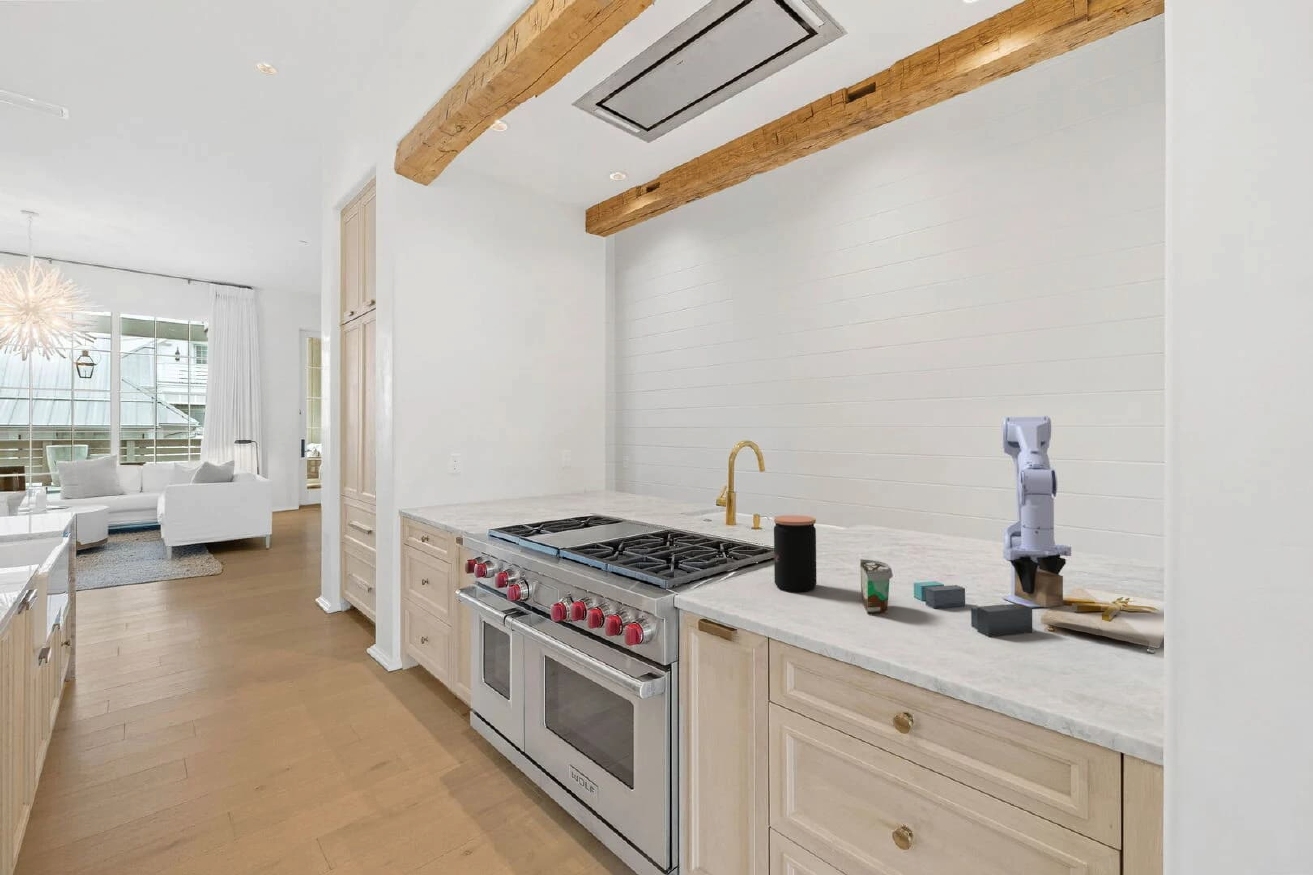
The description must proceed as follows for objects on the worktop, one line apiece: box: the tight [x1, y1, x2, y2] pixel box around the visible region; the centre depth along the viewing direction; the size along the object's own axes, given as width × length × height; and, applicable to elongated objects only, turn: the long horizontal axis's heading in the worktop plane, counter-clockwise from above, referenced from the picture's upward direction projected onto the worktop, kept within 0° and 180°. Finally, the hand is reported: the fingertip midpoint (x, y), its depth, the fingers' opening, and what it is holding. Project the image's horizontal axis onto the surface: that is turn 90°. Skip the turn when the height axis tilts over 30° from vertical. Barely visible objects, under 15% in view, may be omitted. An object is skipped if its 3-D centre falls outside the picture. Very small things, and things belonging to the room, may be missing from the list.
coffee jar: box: [773, 514, 817, 593], centre depth 153 cm, size 11×11×18 cm
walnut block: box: [1015, 568, 1064, 608], centre depth 122 cm, size 4×8×6 cm, turn 11°
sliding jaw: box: [913, 580, 966, 609], centre depth 139 cm, size 8×9×4 cm
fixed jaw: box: [970, 603, 1033, 638], centre depth 119 cm, size 10×6×5 cm, turn 100°
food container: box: [859, 559, 893, 615], centre depth 134 cm, size 12×6×10 cm, turn 168°
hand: (1037, 591), depth 122 cm, fingers closed on walnut block, 4 cm apart
